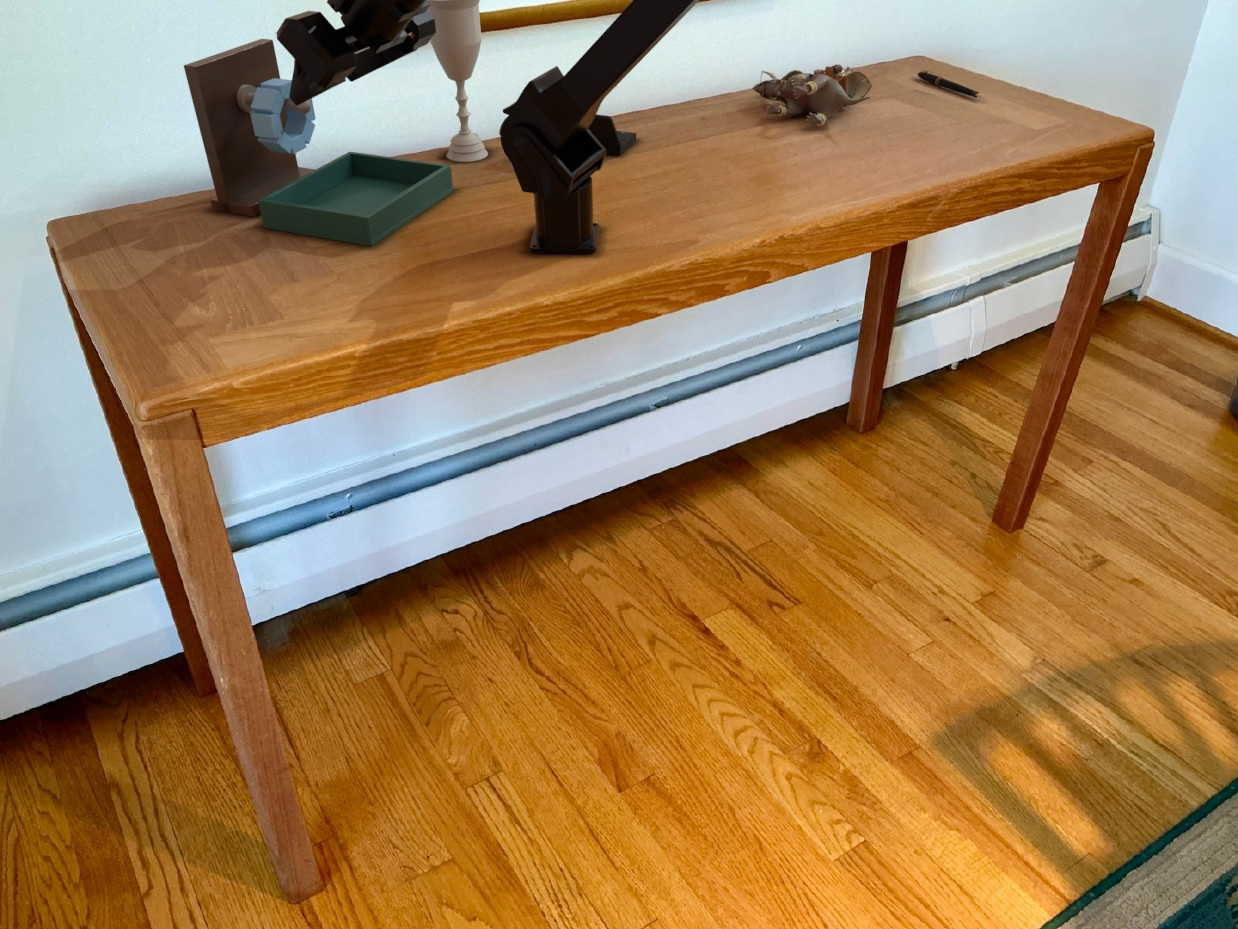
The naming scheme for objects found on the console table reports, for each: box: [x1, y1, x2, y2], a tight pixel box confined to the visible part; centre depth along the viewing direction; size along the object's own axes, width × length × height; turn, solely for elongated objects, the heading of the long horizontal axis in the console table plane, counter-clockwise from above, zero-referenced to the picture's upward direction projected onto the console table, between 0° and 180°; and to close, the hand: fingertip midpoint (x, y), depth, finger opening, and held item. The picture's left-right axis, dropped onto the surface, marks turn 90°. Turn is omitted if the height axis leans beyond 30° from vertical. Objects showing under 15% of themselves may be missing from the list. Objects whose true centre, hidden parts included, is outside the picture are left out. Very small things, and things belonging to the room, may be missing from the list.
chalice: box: [427, 0, 489, 163], centre depth 115 cm, size 7×7×18 cm
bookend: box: [588, 114, 637, 156], centre depth 121 cm, size 12×7×10 cm
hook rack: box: [183, 38, 317, 218], centre depth 105 cm, size 11×12×15 cm
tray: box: [258, 151, 454, 247], centre depth 106 cm, size 13×16×3 cm
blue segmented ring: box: [250, 78, 317, 154], centre depth 104 cm, size 2×7×7 cm, turn 158°
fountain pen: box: [916, 69, 985, 99], centre depth 142 cm, size 14×1×2 cm, turn 26°
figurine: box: [751, 63, 873, 127], centre depth 133 cm, size 20×6×17 cm
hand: (321, 89), depth 100 cm, fingers open, 9 cm apart
